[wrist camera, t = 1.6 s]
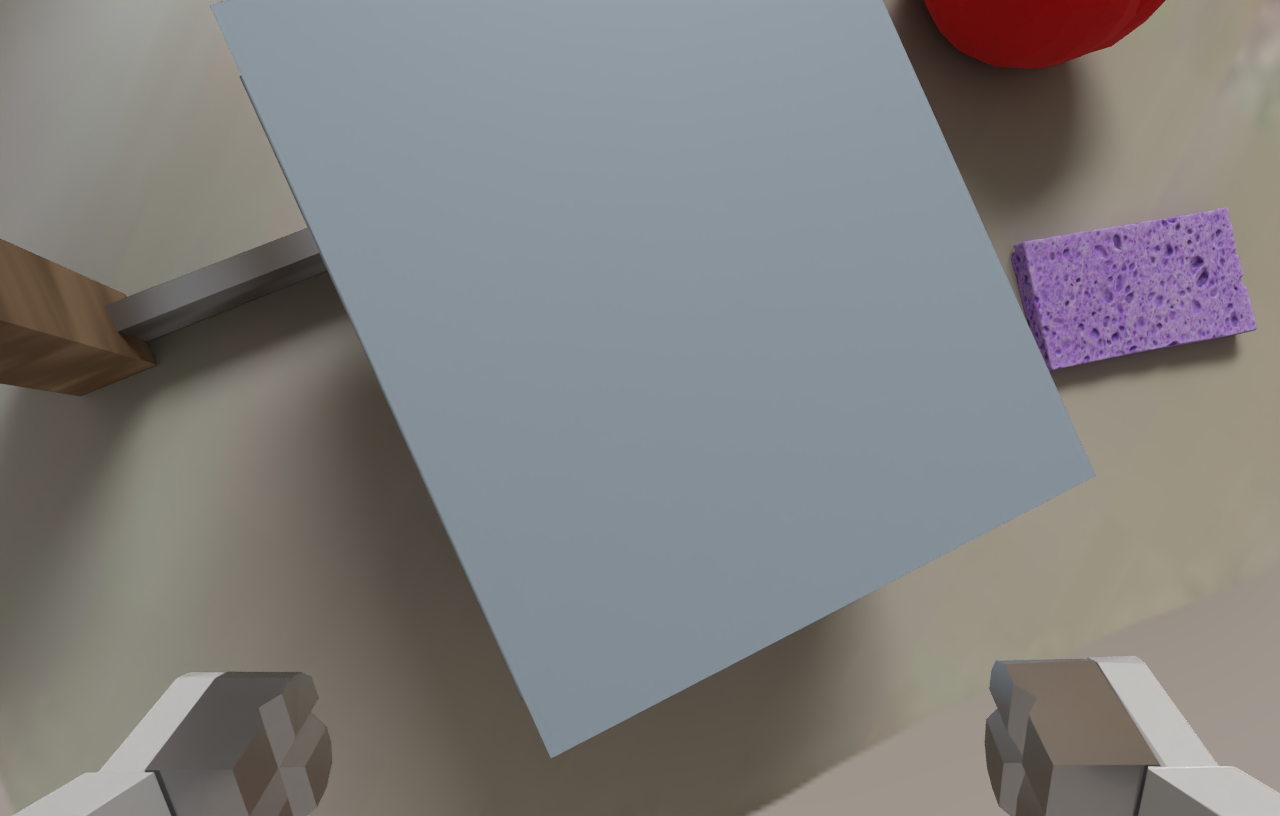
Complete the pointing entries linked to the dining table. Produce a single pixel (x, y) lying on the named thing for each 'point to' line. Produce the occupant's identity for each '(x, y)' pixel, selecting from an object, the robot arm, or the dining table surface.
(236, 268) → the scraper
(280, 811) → the robot arm
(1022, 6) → the tomato
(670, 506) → the cabinet
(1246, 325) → the sponges
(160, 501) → the dining table surface
